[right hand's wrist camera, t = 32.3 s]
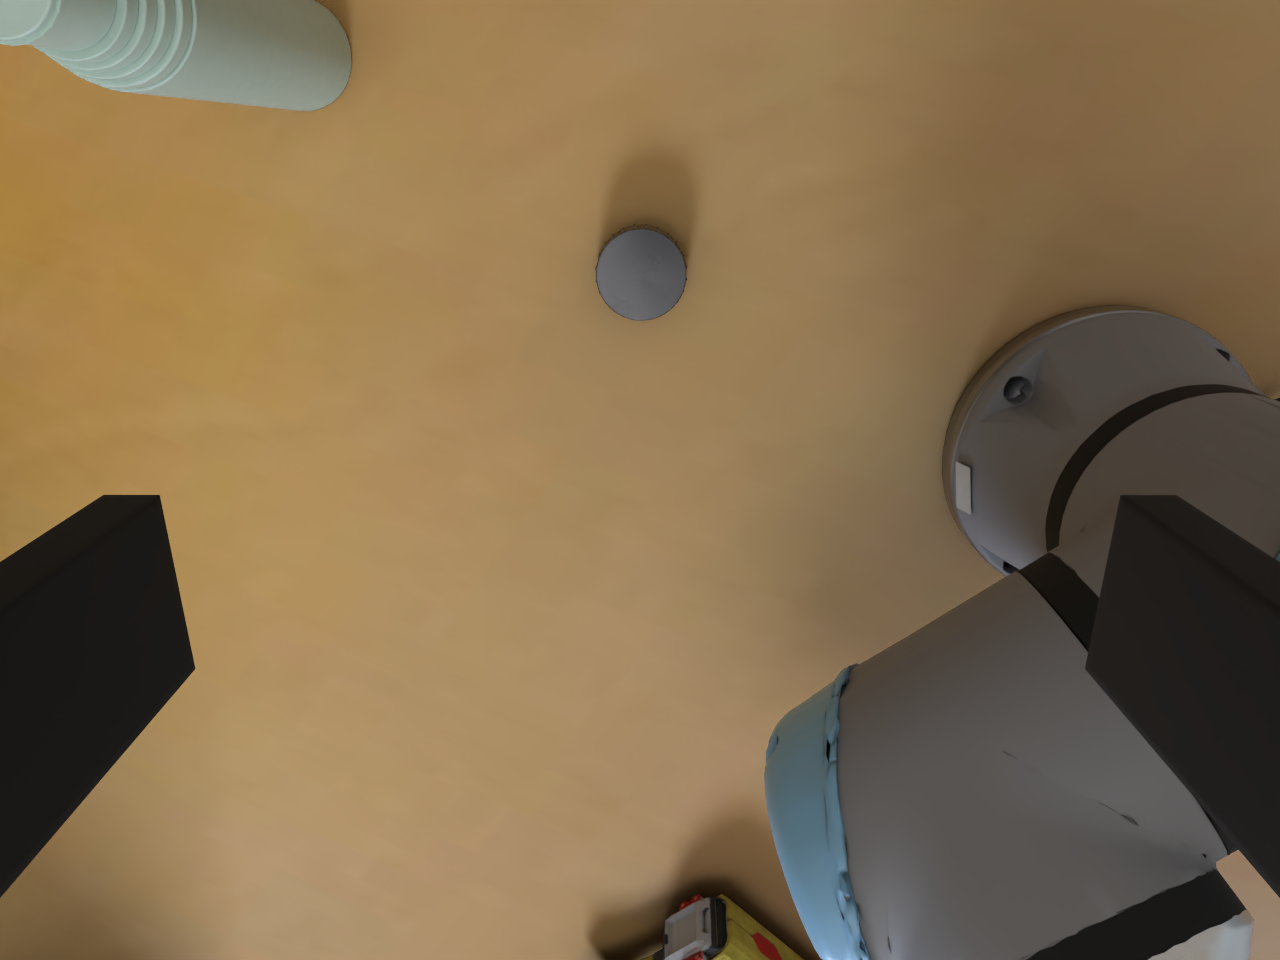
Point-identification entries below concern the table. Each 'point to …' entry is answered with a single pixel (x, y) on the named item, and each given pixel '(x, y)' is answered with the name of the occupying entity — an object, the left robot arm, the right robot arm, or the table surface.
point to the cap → (641, 272)
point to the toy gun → (718, 934)
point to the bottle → (192, 47)
